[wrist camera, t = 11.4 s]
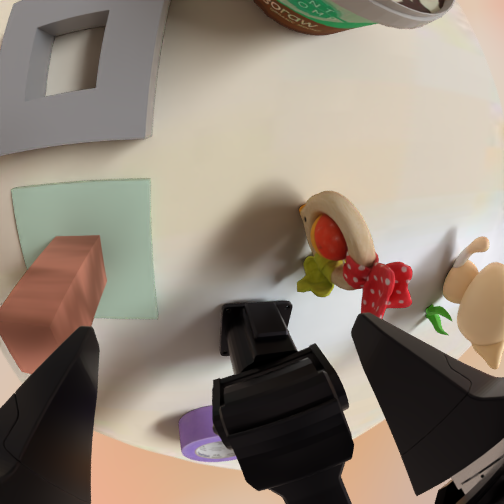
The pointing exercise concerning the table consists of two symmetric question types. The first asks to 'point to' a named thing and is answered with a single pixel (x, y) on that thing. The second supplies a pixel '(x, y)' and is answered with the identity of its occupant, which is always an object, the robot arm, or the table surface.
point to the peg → (53, 299)
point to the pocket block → (88, 100)
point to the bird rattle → (349, 256)
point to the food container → (352, 13)
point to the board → (97, 223)
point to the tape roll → (202, 437)
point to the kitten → (476, 303)
